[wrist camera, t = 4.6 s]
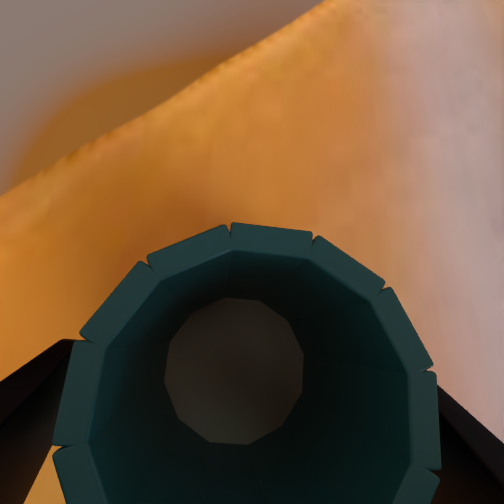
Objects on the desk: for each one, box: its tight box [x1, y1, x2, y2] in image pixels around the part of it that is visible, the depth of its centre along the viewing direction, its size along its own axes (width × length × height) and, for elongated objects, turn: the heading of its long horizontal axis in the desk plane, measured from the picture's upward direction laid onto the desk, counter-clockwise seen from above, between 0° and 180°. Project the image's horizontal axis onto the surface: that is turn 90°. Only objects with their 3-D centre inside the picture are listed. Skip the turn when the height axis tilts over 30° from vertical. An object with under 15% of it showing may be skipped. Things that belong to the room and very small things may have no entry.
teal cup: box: [52, 222, 441, 504], centre depth 10 cm, size 7×7×8 cm
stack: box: [164, 297, 304, 445], centre depth 15 cm, size 10×10×3 cm
